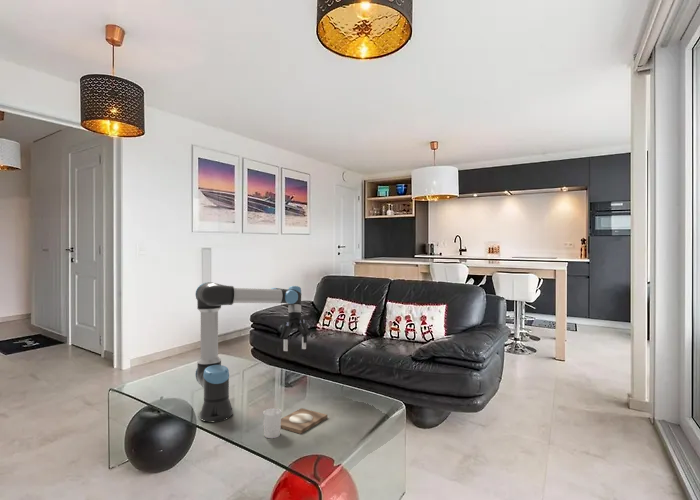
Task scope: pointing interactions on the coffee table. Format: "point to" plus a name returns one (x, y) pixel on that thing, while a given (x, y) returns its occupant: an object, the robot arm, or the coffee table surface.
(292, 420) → the serving board
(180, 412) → the coffee table surface
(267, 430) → the white cup
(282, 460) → the coffee table surface
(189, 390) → the coffee table surface
